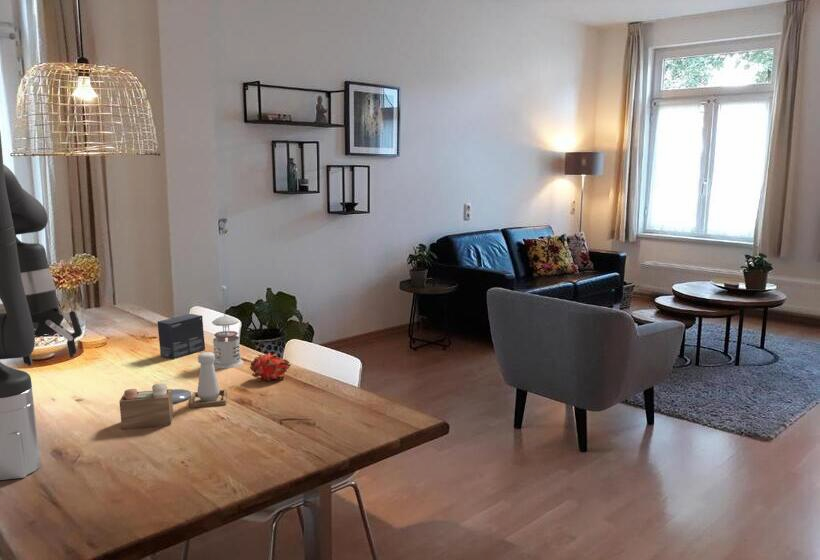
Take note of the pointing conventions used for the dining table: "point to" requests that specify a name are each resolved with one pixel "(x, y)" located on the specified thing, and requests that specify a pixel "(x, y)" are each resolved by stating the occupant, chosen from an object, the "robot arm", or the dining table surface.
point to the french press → (226, 349)
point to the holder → (211, 403)
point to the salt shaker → (207, 378)
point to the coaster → (180, 395)
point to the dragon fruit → (269, 366)
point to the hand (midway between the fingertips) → (51, 360)
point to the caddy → (146, 407)
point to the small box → (181, 336)
